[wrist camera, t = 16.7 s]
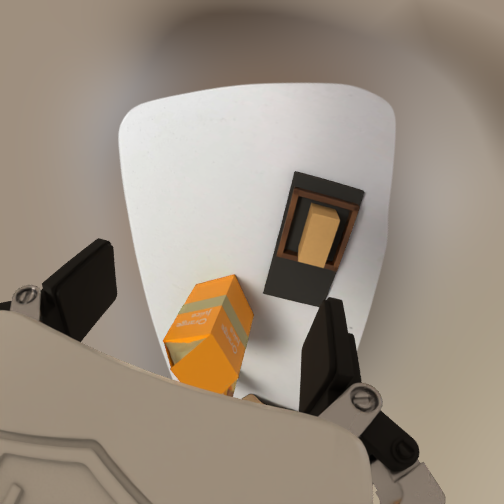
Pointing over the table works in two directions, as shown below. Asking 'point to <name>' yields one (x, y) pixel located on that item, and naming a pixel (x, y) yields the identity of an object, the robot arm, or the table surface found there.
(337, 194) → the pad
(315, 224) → the brown block
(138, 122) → the table surface
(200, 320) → the orange juice
